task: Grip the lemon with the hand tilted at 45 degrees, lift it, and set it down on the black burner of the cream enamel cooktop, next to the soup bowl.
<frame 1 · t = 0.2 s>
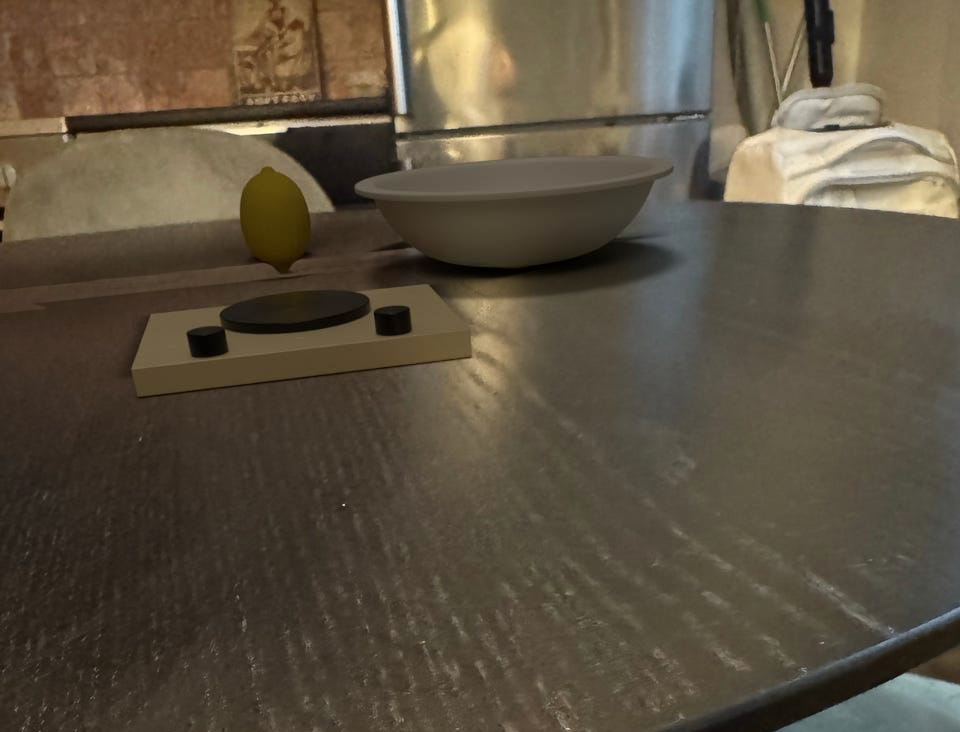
soup bowl: (516, 266, 78), on the table
lemon: (284, 276, 81), on the table
cooktop: (301, 346, 59), on the table
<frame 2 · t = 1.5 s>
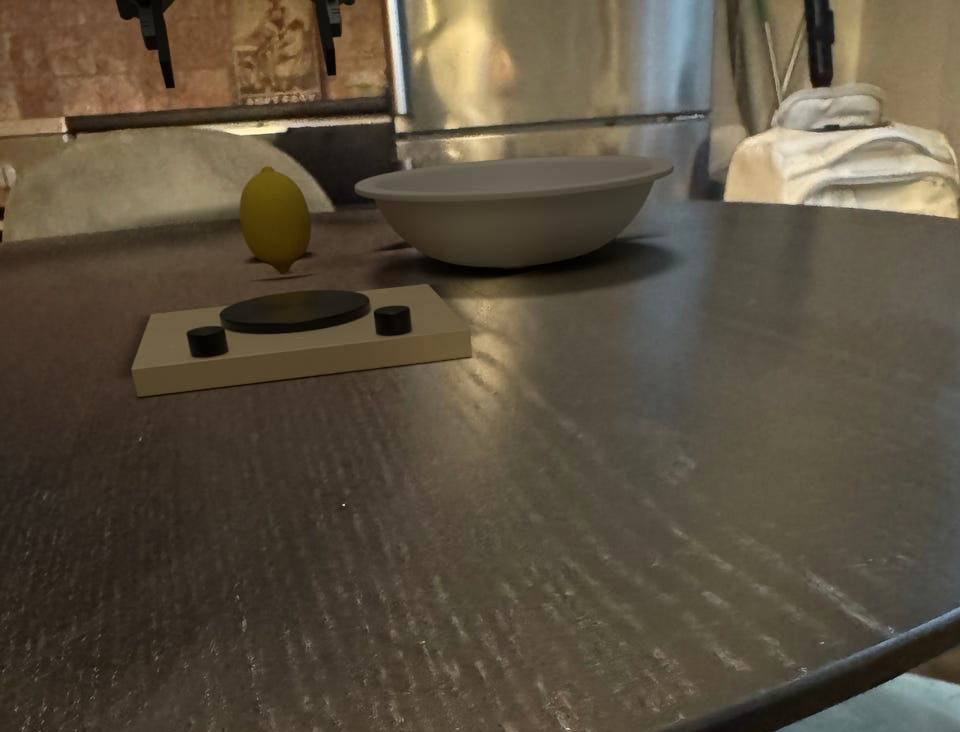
hand: (250, 69, 83), 15 cm above the table, tool tilted 45°, fingers open, 13 cm apart
nothing on the table moved.
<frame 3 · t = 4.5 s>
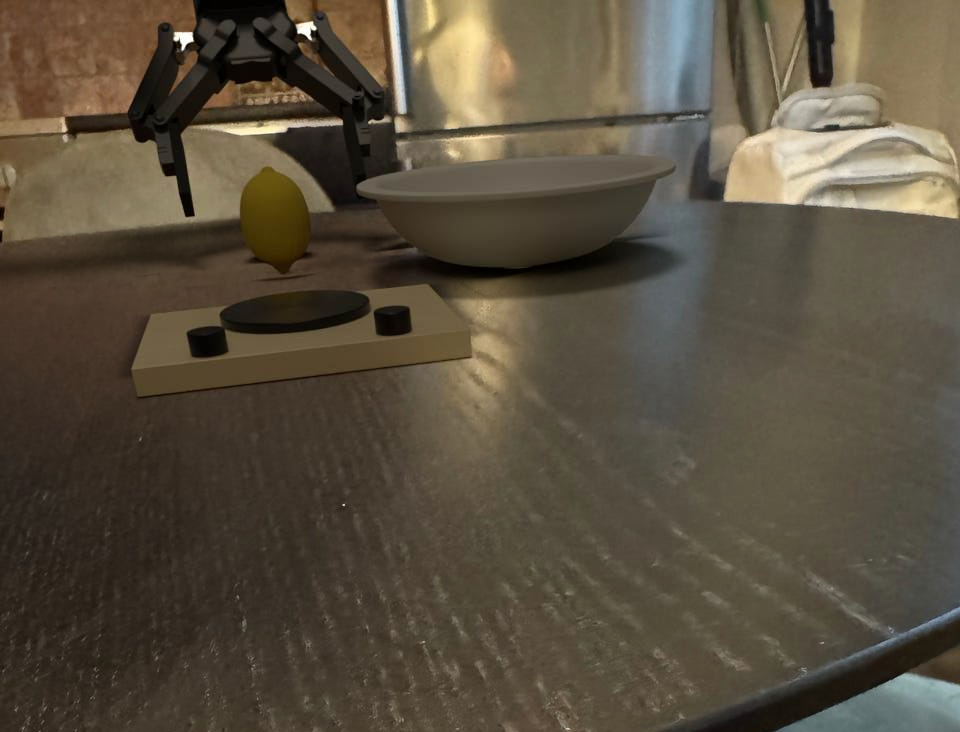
hand: (275, 196, 77), 6 cm above the table, tool tilted 45°, fingers open, 13 cm apart
soup bowl: (518, 266, 78), on the table, touching gripper
everything else where it was.
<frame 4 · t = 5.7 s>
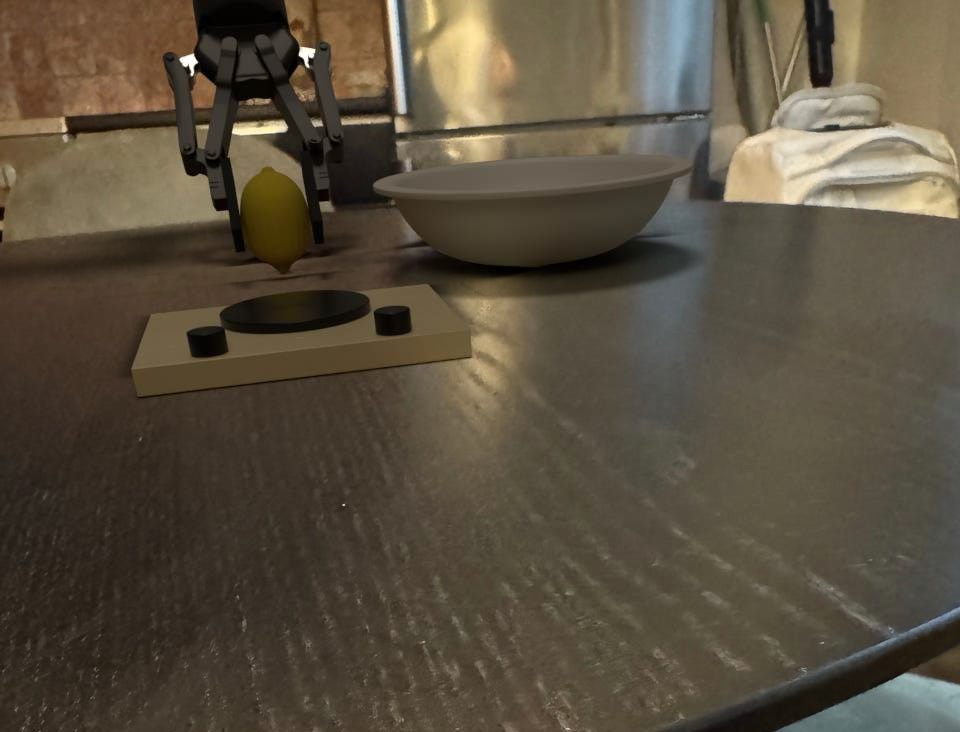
hand: (278, 236, 76), 3 cm above the table, tool tilted 45°, fingers closed on lemon, 5 cm apart
soup bowl: (534, 265, 78), on the table
lemon: (284, 276, 81), on the table, touching gripper
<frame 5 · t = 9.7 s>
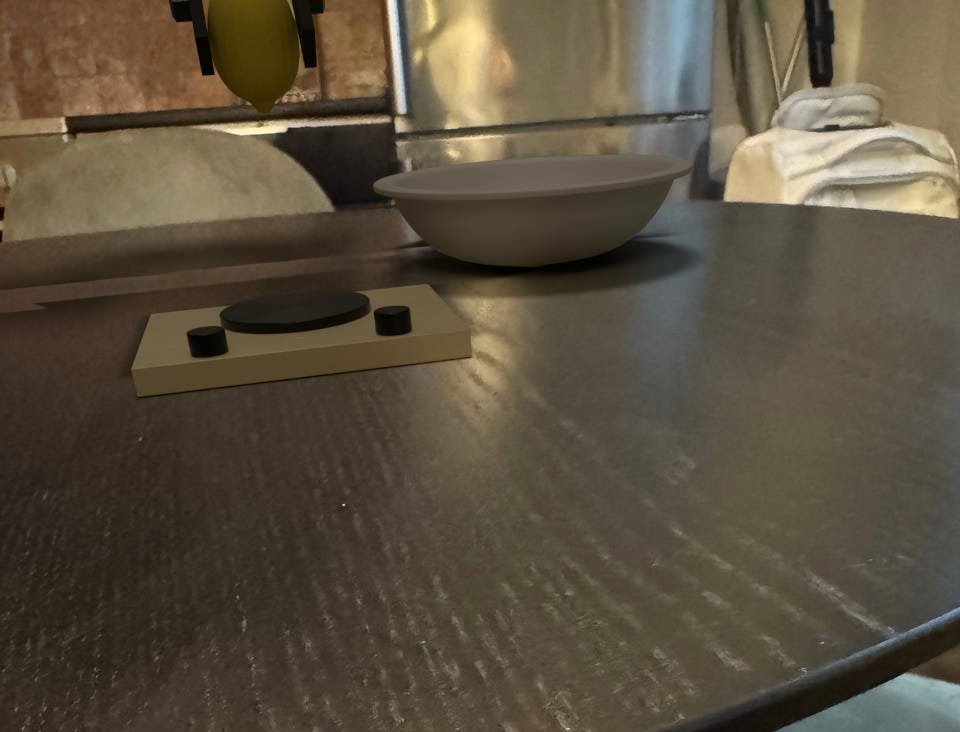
hand: (257, 52, 58), 15 cm above the table, tool tilted 45°, fingers closed on lemon, 5 cm apart
lemon: (265, 117, 63), point 12 cm above the table, touching gripper
everything else where it was.
when the fingers open (5 cm above the table, at t = 14.0 s): lemon stays where it is, resting on cooktop.
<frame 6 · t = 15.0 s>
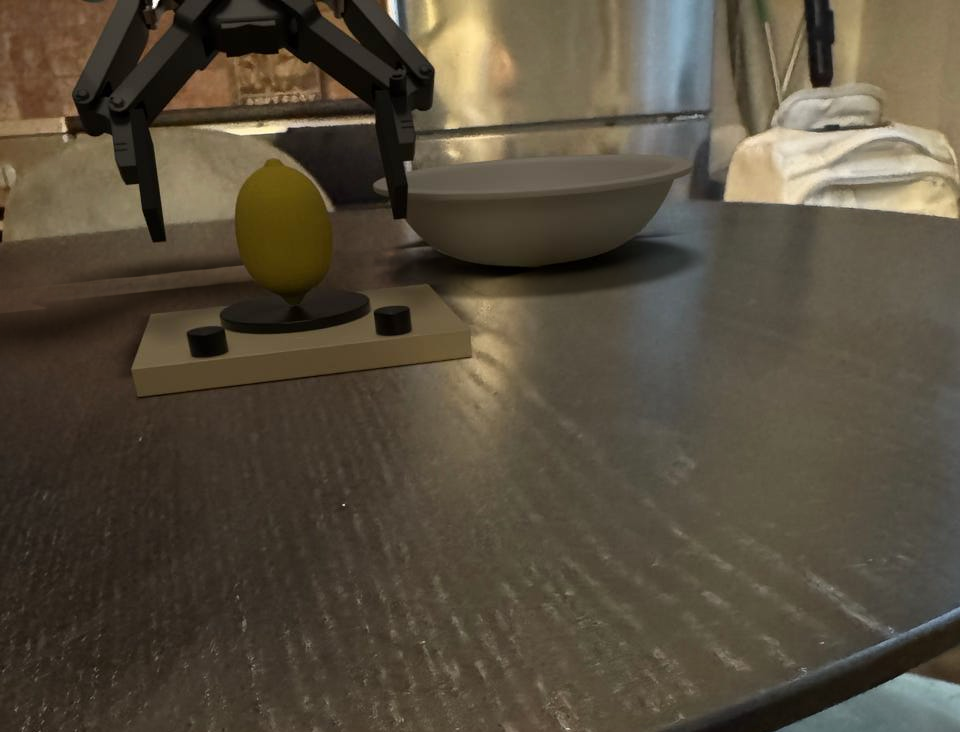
hand: (280, 215, 55), 7 cm above the table, tool tilted 45°, fingers open, 13 cm apart
lemon: (295, 308, 59), point 2 cm above the table, touching cooktop
everything else where it was.
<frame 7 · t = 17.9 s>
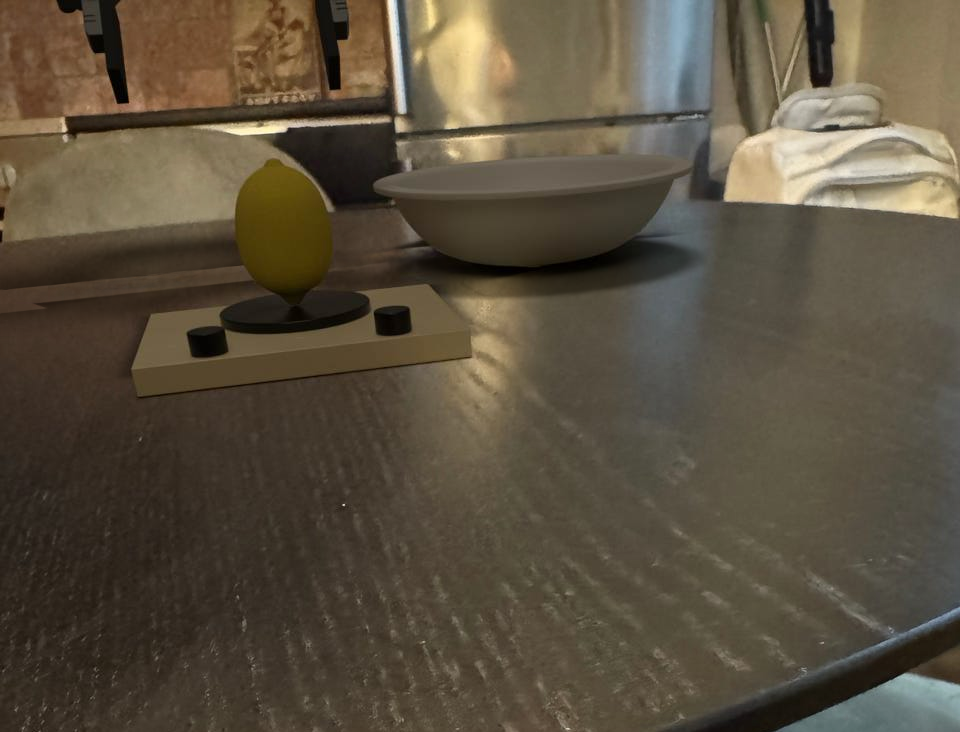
hand: (228, 80, 63), 14 cm above the table, tool tilted 45°, fingers open, 13 cm apart
nothing on the table moved.
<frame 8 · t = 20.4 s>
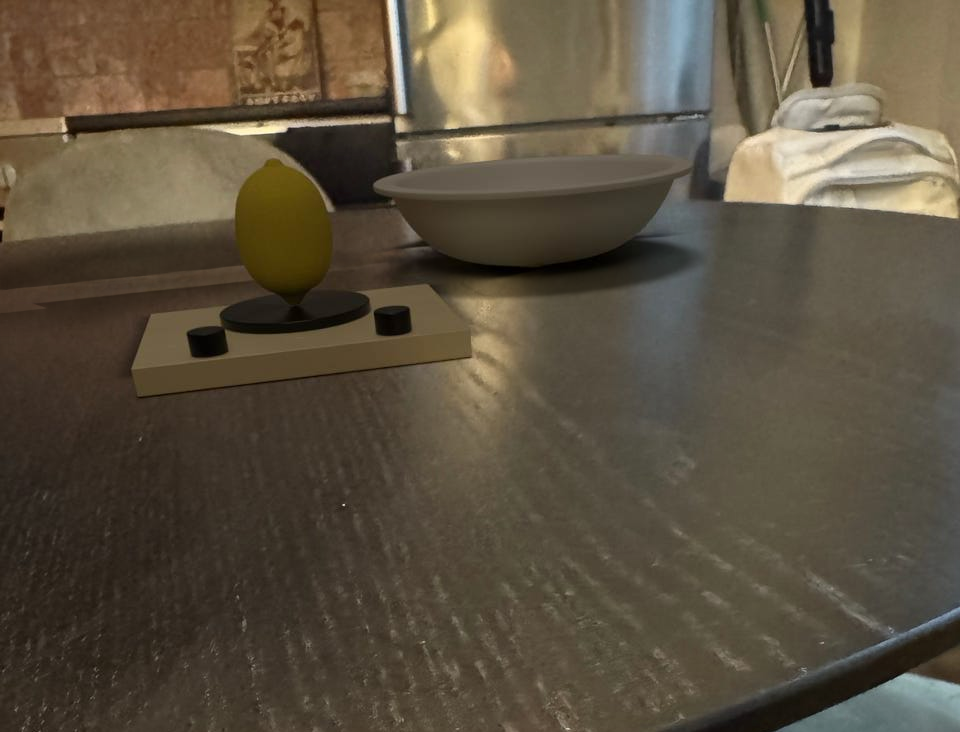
nothing on the table moved.
at the end: lemon inside the target area on the cooktop (0.0 cm from its centre), point 1.9 cm above the cooktop's base; lemon touching cooktop; the gripper is holding nothing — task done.
